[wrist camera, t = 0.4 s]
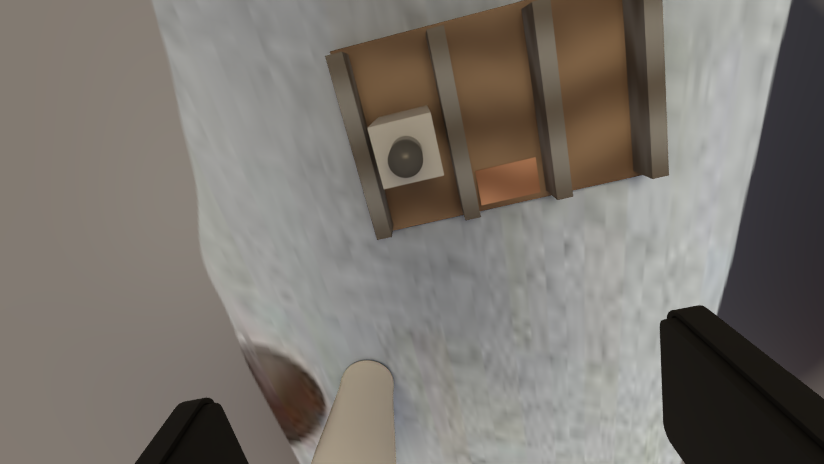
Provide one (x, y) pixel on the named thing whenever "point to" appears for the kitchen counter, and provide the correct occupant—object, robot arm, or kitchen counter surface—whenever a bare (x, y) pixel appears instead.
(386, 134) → the grey plug
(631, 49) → the wooden divided tray
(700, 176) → the kitchen counter surface
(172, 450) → the robot arm
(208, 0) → the kitchen counter surface
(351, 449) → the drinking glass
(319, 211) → the kitchen counter surface
